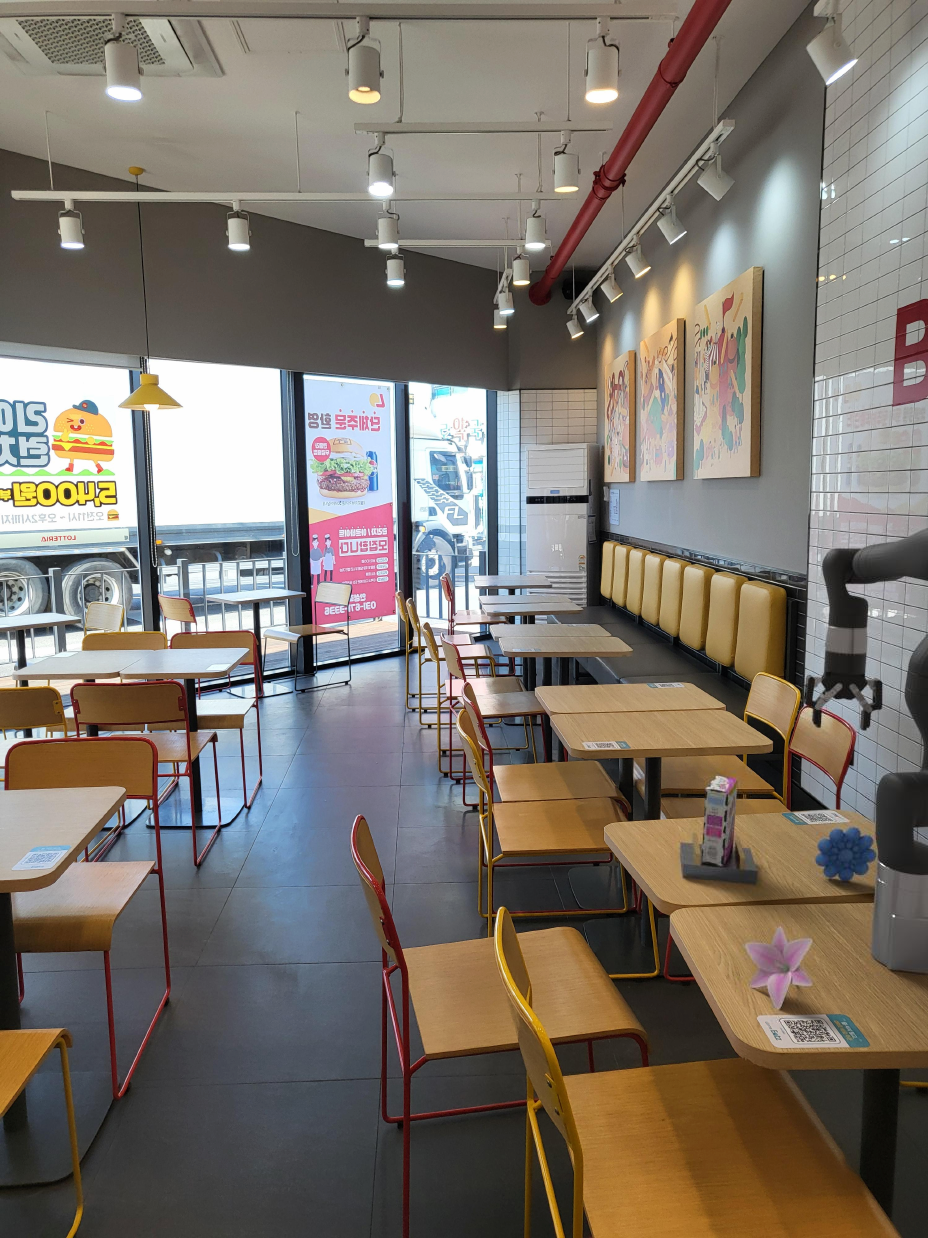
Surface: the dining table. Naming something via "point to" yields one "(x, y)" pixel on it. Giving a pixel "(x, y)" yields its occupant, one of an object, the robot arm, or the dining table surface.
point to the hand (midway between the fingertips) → (840, 728)
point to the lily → (779, 965)
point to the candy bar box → (719, 820)
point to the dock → (734, 870)
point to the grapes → (845, 853)
